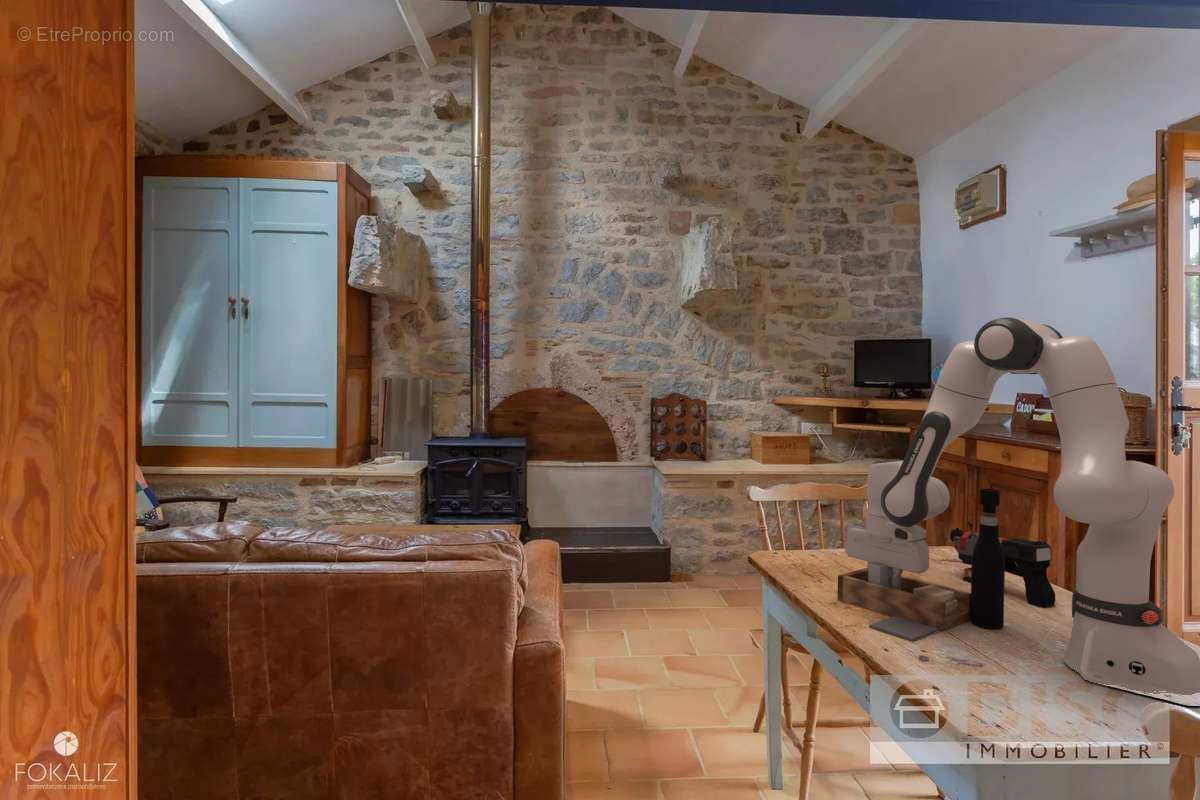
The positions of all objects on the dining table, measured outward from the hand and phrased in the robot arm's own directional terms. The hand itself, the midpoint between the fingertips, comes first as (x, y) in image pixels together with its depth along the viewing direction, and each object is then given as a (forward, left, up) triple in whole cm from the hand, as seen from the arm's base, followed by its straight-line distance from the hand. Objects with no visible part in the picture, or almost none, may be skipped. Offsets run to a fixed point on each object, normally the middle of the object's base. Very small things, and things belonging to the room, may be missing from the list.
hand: (884, 583), depth 168 cm
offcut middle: (-12, 0, -3) cm, 13 cm away
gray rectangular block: (0, 0, -5) cm, 5 cm away
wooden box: (-4, 0, -5) cm, 7 cm away
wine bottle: (-21, -6, -5) cm, 22 cm away
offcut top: (-12, 0, -1) cm, 12 cm away
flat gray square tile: (-12, +12, -5) cm, 18 cm away
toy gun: (-10, -34, -5) cm, 36 cm away
